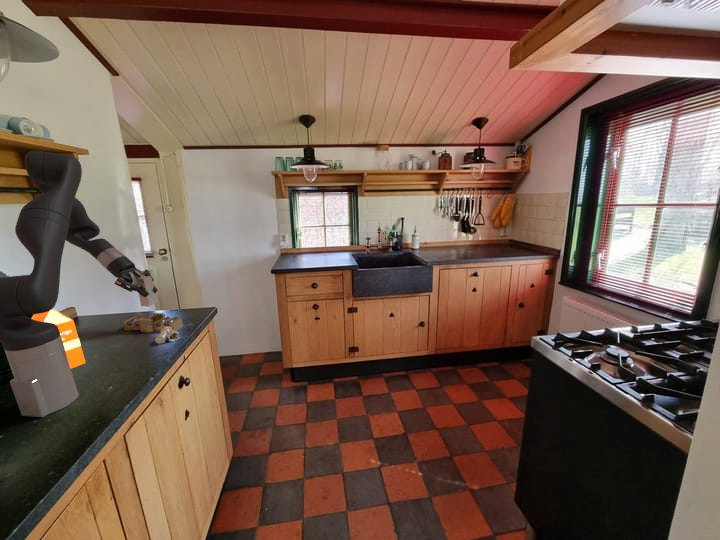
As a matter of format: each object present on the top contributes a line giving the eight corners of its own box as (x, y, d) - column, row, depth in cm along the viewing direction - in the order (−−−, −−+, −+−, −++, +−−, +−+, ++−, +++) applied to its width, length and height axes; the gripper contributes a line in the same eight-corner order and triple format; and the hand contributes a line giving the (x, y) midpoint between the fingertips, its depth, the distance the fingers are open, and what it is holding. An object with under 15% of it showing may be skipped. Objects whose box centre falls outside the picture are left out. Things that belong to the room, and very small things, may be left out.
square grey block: (149, 306, 113) (143, 278, 111) (141, 306, 114) (135, 278, 111) (156, 303, 117) (151, 276, 114) (148, 303, 117) (142, 276, 115)
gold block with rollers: (172, 333, 113) (169, 321, 112) (122, 331, 116) (119, 319, 115) (184, 325, 120) (182, 313, 119) (137, 323, 123) (135, 312, 121)
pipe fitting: (159, 348, 103) (180, 339, 108) (156, 338, 102) (177, 329, 107) (151, 341, 108) (172, 333, 113) (148, 331, 107) (169, 324, 112)
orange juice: (74, 356, 98) (57, 298, 93) (86, 362, 94) (69, 303, 89) (41, 368, 92) (21, 307, 87) (52, 375, 87) (32, 312, 83)
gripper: (102, 259, 105) (141, 293, 106) (136, 252, 118) (170, 281, 120) (93, 274, 107) (131, 307, 108) (127, 265, 120) (161, 294, 122)
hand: (151, 293), depth 114 cm, fingers closed on square grey block, 3 cm apart
